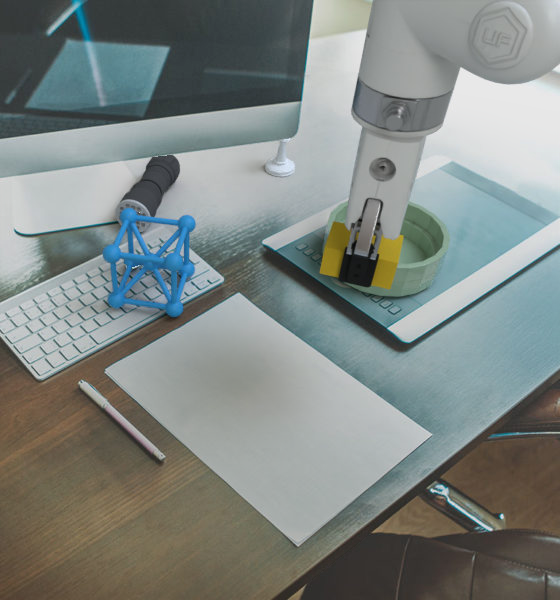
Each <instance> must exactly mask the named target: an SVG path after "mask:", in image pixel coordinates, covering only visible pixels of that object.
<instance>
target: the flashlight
mask: <svg viewBox="0 0 560 600" xmlns="http://www.w3.org/2000/svg"><path fill="white" fill-rule="evenodd" d="M180 173H181V165H180V161H179V159H178V158H177V157H176V156H175V155H174V154H172V155H167V156H158V157H153V156H152V157H151V158H150V160H149V161H148V162H147V164H146V166H145V170H144V172H143V173H142V176H141V177H140V179H139V181H138V182H135V183H134V184H133V185H132V187H130V190H129V191H127V192H126V193H125V194H124V195H123V197H122V198H121V200H120V202H119V203H118V204H117V205H116V207H115V210H114V213H115V214H114V215H115V218H116V220H117V222H118V224H119V225H120V227H121V226H122V224H123V223H122V222H121V220H120V213H121V212H122V210H124V209H125V208H132V209H134V210H135V211H136V213H137V215H141V216H149V217H156V215H157V211H158V209H159V207H160V206H161V204H162V200H163V196H164V194H165V193H166V192H167V191H168V190H169V189H170V187H171V186H173V185H174V184H175V183H176V181H177V180H178V178H179V176H180ZM139 212H140V213H139ZM135 224H136V226H137V228H138V230H139V232H140V233H142V232H145V231H146V230H147V229H148V228H149V227H150V225H151V222H143V221H136V223H135Z"/></svg>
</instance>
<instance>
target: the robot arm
mask: <svg viewBox="0 0 560 600" xmlns="http://www.w3.org/2000/svg"><path fill="white" fill-rule="evenodd" d="M371 2H372V3H371V7H370V13H369V18H368V23H367V28H366V32H365V37H364V38H365V39H364V43H363V49H362V53H361V59H360V64H359V69H358V73H357V79H356V84H355V89H354V93H353V94H354V95H353V99H352V105H351V109H350V114H351V116H352V118H353V120H354V122H356V123H357V124H358V125H359V126H361V129H360V130H361V131H360V135H359V140H358V146H357V150H356V156H355V160H354V166H353V170H352V176H351V181H350V188H349V195H348V200H347V201H348V207H347V214H346V221H345V226H346V228H347V229H348V230H349V231H350V230H351V229H352V231H351V235H350V240H349V244H348V247H345V251H344V255H343V259H342V264H341V268H340V273H339V277H338V278H337V279H338V281H339V282H342V283H343V282H345V283H349V284H354V285H358V286H362V287H367V288H368V287H370V286H371V284H372V280H373V277H374V273H375V270H376V266H377V262H378V259H379V255H380V254H377V252H378V249H379V245H380V241H381V238H382V235H383V236H384V238H387V239H391V240H395V239H397V238H398V237H399V235H400V231H401V227H402V224H403V220H404V217H405V213H406V209H407V206H408V203H409V201H410V199H411V196H412V193H413V188H414V185H415V181H416V178H417V175H418V170H419V168H420V165H421V160H422V157H423V152H424V148H425V145H426V141H427V137H428V136H430V135H432V134H435V133H436V132H438V131H439V130H440V129H441V128H443V125H444V121H445V119H446V117H447V113H448V109H449V106H450V103H451V99H452V97H453V93H454V91H455V86H456V85H457V84H456V83H457V81H458V77H459V74H460V71H461V69H463V70H465V71H467V72H469V73H471V74H472V75H475V76H476V77H479V78H480V79H483V80H485V81H488V82H492V83H496V84H500V85H501V84H502V85H522V84H526V83H530V82H533V81H536V80H537V79H540V78H542V77H543V76H545V75H547V74H548V73H550V72H551V71H553V70H554V69H556V67H558V66H559V65H560V0H372V1H371ZM357 232H359V236H358V239H357V240H356V236H357ZM373 235H375V236H376V237H375V241H374V245H373V243H371V242H372V238H373ZM345 283H344V284H345Z"/></svg>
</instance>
